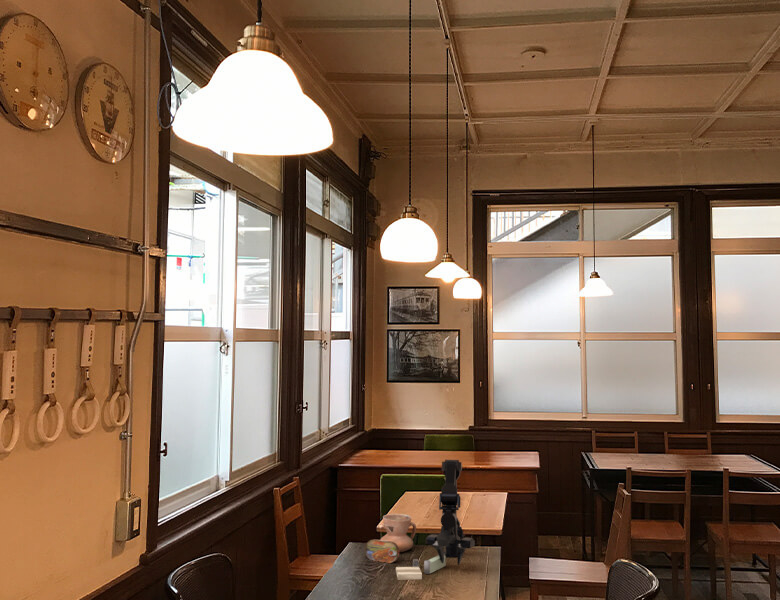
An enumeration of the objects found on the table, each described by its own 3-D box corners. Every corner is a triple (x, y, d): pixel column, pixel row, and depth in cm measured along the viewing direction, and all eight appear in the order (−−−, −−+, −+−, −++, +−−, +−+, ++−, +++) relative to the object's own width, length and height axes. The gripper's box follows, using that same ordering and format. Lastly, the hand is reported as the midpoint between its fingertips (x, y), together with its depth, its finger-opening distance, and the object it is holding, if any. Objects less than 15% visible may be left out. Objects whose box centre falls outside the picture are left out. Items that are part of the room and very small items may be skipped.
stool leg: (428, 574, 269) (428, 562, 270) (422, 573, 271) (422, 561, 271) (445, 565, 280) (445, 554, 281) (440, 564, 282) (440, 553, 282)
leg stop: (412, 566, 280) (412, 559, 280) (417, 566, 280) (417, 559, 280) (413, 568, 278) (413, 560, 278) (418, 568, 278) (418, 560, 278)
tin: (364, 559, 290) (364, 538, 290) (368, 557, 292) (368, 537, 293) (396, 564, 283) (397, 543, 283) (400, 562, 285) (400, 541, 286)
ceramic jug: (384, 556, 294) (385, 522, 295) (371, 547, 307) (372, 514, 308) (423, 552, 301) (424, 519, 302) (409, 543, 314) (410, 511, 315)
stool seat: (395, 572, 272) (395, 567, 273) (418, 571, 273) (418, 566, 273) (398, 579, 264) (398, 574, 264) (421, 579, 264) (421, 573, 265)
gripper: (419, 525, 273) (420, 566, 272) (464, 529, 265) (465, 571, 263) (431, 519, 283) (431, 559, 282) (474, 523, 275) (475, 564, 273)
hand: (450, 563), depth 275 cm, fingers open, 6 cm apart
